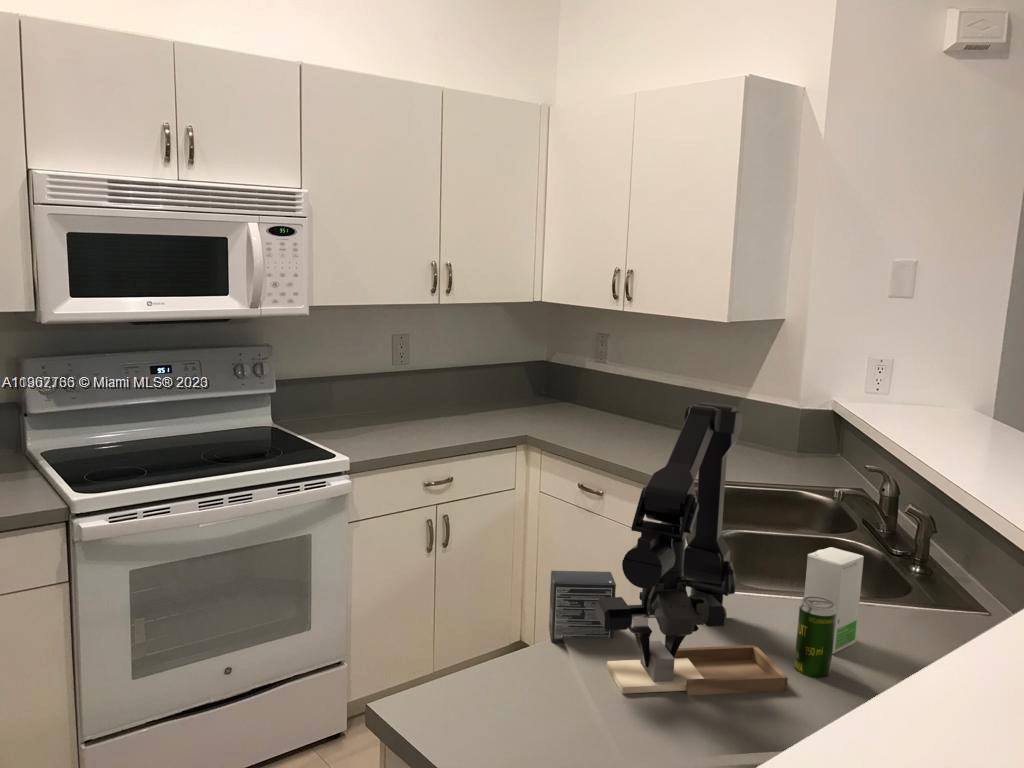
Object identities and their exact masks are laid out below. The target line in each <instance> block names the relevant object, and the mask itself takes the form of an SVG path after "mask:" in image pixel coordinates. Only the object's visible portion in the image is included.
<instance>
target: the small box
mask: <svg viewBox="0 0 1024 768" xmlns="http://www.w3.org/2000/svg"><path fill="white" fill-rule="evenodd" d="M616 588H617V583H616V581H615V578H614V576H613V573H612V572H611V571H595V570H594V571H589V570H588V571H587V570H551V571H550V590H549V593H550V594H549V613H548V614H549V617H548V618H549V619H548V631H549V637H550V642H551V643H564V644H565V641H564V639H563V638H575V639H578V638H579V639H614V631H615V630H607V629H604V627H603V626H602V624H601V623H600V621H599V620H598V618H597V617H596V615H595V604H596V602H597V601H598V600H599V599H600V598H606V597H616ZM561 636H562V637H561Z"/></svg>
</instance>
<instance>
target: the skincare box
mask: <svg viewBox="0 0 1024 768" xmlns="http://www.w3.org/2000/svg"><path fill="white" fill-rule="evenodd" d="M864 557H865V556H864V555H862V554H859V553H855V552H851V551H848V550H843V549H840V548H836V547H833V546H832V547H831V546H830V547H827V548H824V549H818V550H816V551H814V552H810V553H808V554H807V559H806V560H807V561H806V575H805V584H804V585H805V586H804V593H803V594H804V596H803V598H804V597H808V596H815V597H821V598H825V599H828V600H830V601H832V602H833V603H835V609H836V621H835V631H834V640H833V650H832V655H834V654H837V652H839V651H842V650H844V649H845V648H847V647H849V646H851V645H854V644H855V643H856V641H857V630H858V622H859V621H858V619H859V610H860V601H861V590H862V589H861V588H862V579H863V570H864V569H863V568H864Z"/></svg>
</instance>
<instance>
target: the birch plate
mask: <svg viewBox="0 0 1024 768" xmlns="http://www.w3.org/2000/svg"><path fill="white" fill-rule="evenodd" d="M649 646H650V659H649V666H648V667H645V665H644V663H643V660H642V657H641V656H640V659H629V660H628V659H627V660H626V659H625V660H607V661H606V668H607V670H608V671H609V673H610V675H611V677H612V679H613V681H615V684H616V685H617V687H618V689H619V691H620V693H621V694H622V695H623V694H638V693H639V694H640V693H643V694H644V693H659V692H661V693H663V692H680V691H681V692H682V691H684V692H685V690H686V686H687V679H704V678H703V677H702V675H701V674H700V673H699V672H698V670H697V669H696V668H695V667H694V665H693V664H692V663H691V662H690V660H689V659H688V658H674V657H673V656H672V655H671V654H670V652H669V651H668V650H667V648H666V647H665V643H663V642H662V641H661V640H649Z"/></svg>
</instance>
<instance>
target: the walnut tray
mask: <svg viewBox="0 0 1024 768" xmlns="http://www.w3.org/2000/svg"><path fill="white" fill-rule="evenodd" d="M674 658H688V659H689V660H690V662H691V663H692V664H693V665H694V667H695V668H696V669H697V670H698V672H699V673H700V674H701V675H702V677H703V678H704V679H687V686H686V690H685V691H684V692H685V693H686V694H687V696H699V695H700V696H703V695H719V694H720V695H723V694H742V693H745V694H746V693H760V692H761V693H762V692H763V693H764V692H766V693H767V692H783V691H784V692H786V691H788V690H787V688H788V681H789V679H788V676H787V675H786V674H785V673H784V671H782V670H781V669H780V668H779V667H778V666H777V665H776V664H775V663H774V662H773V661H772V660H771V659H770V658H769V657H768V656H767V655H766V654H765V653H764V652H763V651H762V649H760V647H758V646H757V645H756V644H751V645H750V644H749V645H722V646H720V645H719V646H702V647H701V646H700V647H696V646H695V647H679V648H678V650H677V652H676V654H675V656H674Z"/></svg>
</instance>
